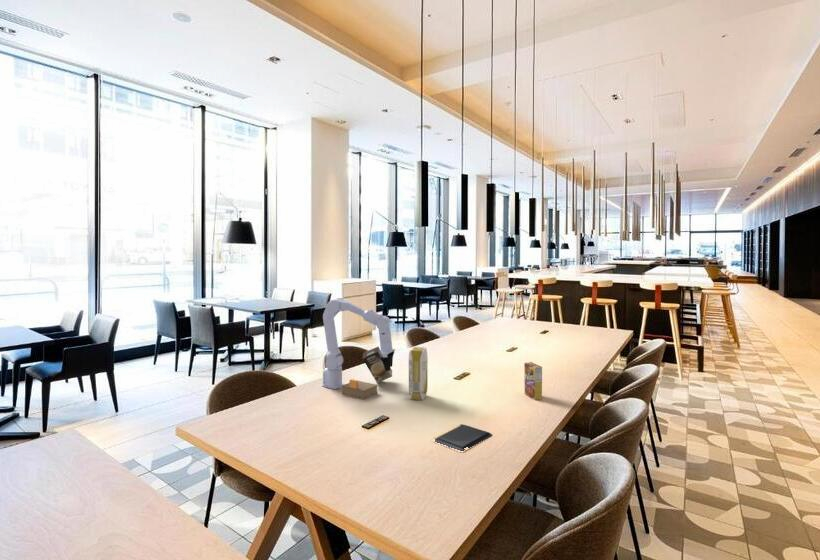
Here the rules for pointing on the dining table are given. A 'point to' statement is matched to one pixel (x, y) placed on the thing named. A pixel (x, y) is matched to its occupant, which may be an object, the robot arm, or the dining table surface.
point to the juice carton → (418, 373)
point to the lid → (359, 385)
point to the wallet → (462, 437)
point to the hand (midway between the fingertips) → (389, 368)
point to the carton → (359, 392)
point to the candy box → (533, 380)
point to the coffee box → (376, 364)
